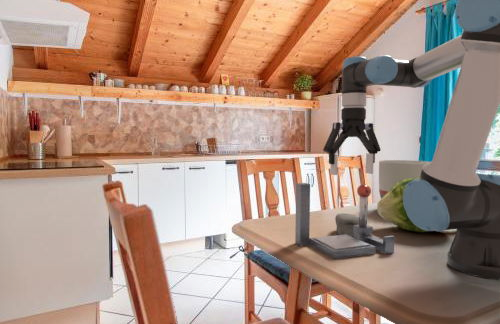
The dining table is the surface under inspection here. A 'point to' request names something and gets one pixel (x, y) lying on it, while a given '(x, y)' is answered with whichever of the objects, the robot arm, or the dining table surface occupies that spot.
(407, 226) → the lettuce
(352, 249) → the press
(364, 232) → the lever
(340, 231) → the stone
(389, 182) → the planter
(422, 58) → the robot arm
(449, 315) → the dining table surface
